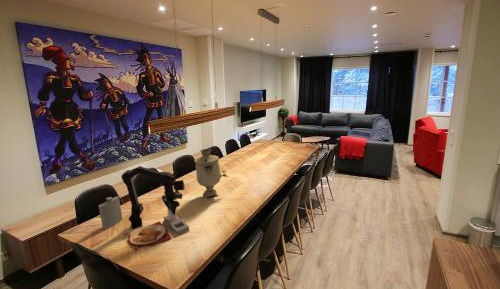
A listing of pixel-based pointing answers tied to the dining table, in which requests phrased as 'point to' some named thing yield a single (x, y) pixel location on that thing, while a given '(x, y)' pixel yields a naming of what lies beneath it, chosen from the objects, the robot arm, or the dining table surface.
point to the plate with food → (148, 235)
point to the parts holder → (177, 225)
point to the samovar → (208, 172)
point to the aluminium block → (171, 215)
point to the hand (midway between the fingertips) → (171, 212)
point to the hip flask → (110, 212)
